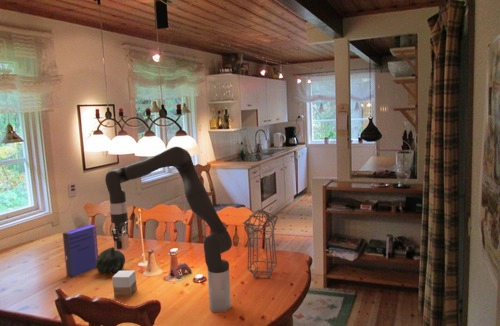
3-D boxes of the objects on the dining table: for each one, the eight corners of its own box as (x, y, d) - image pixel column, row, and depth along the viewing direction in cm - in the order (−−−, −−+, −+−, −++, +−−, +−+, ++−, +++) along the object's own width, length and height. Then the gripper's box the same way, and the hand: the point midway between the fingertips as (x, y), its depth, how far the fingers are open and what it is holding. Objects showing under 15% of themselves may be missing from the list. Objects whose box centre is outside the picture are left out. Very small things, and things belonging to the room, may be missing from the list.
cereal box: (93, 265, 236) (90, 224, 233) (99, 266, 234) (95, 225, 231) (66, 275, 222) (62, 232, 219) (72, 277, 219) (68, 233, 216)
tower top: (129, 287, 191) (128, 277, 191) (113, 287, 192) (112, 277, 192) (136, 280, 199) (135, 270, 199) (120, 280, 200) (119, 270, 199)
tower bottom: (130, 297, 192) (130, 287, 191) (114, 297, 193) (113, 287, 192) (136, 290, 200) (136, 280, 199) (121, 290, 201) (120, 280, 200)
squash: (96, 258, 230) (95, 244, 220) (124, 255, 236) (124, 241, 225) (97, 282, 222) (96, 268, 211) (125, 278, 227) (126, 264, 216)
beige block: (125, 250, 191) (124, 237, 190) (114, 250, 191) (113, 238, 191) (129, 246, 196) (128, 234, 195) (118, 247, 196) (117, 234, 196)
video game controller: (187, 274, 221) (183, 261, 222) (192, 272, 218) (188, 259, 219) (174, 280, 213) (169, 267, 214) (179, 278, 211) (174, 265, 212)
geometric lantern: (280, 270, 217) (278, 206, 211) (273, 283, 202) (271, 214, 196) (251, 268, 221) (249, 205, 216) (243, 280, 206) (240, 213, 201)
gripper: (120, 215, 184) (123, 251, 186) (132, 207, 198) (134, 242, 200) (104, 215, 185) (107, 252, 187) (117, 208, 199) (119, 242, 201)
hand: (121, 246), depth 194 cm, fingers closed on beige block, 5 cm apart
